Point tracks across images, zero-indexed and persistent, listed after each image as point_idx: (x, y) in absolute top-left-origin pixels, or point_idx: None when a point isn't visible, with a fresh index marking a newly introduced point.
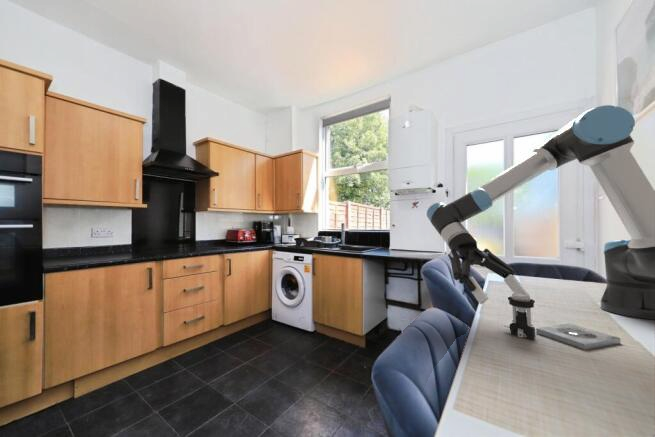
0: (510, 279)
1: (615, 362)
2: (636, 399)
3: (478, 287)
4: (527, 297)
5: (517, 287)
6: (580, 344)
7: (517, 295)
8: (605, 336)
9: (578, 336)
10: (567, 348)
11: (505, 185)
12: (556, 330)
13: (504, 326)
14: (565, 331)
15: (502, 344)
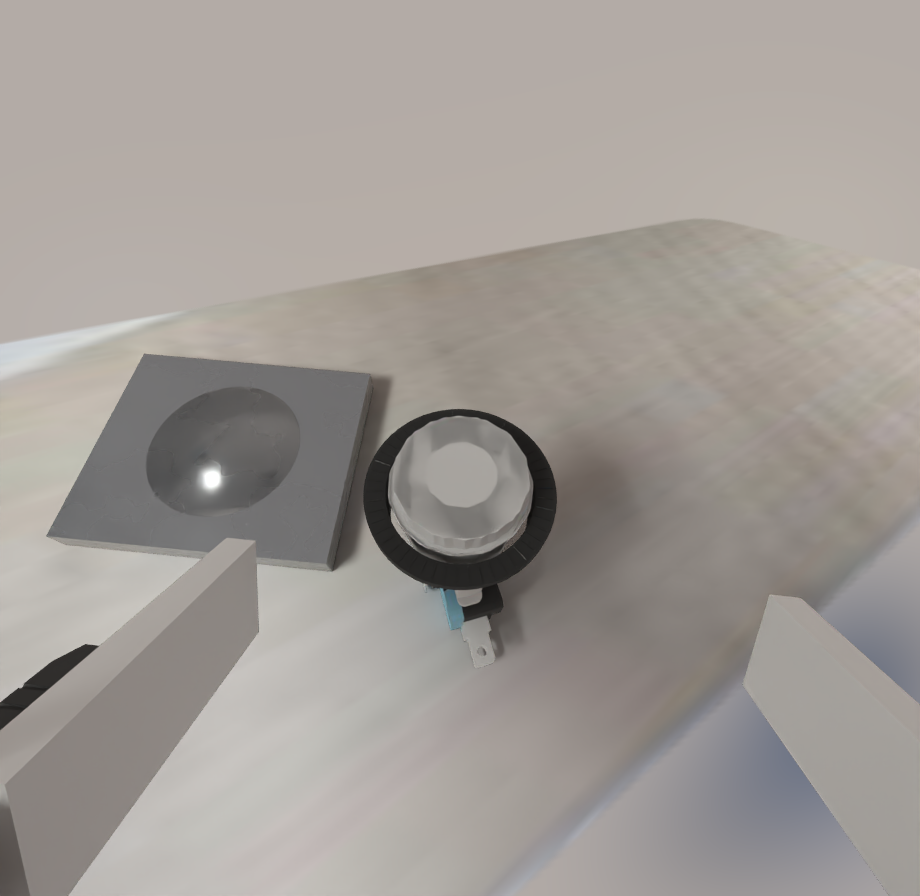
0: (83, 757)
1: (404, 319)
2: (603, 247)
3: (911, 697)
4: (472, 420)
5: (194, 636)
6: (368, 391)
7: (503, 477)
8: (170, 381)
9: (278, 421)
10: None
11: None
12: (268, 500)
13: (493, 652)
14: (244, 476)
15: (656, 547)
